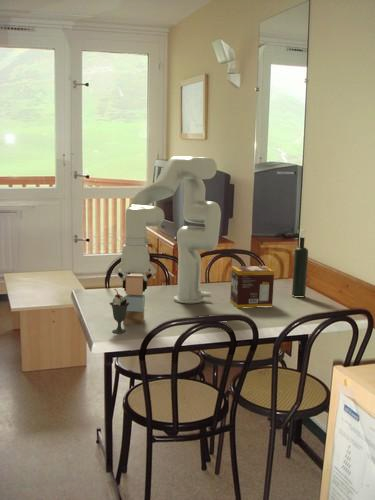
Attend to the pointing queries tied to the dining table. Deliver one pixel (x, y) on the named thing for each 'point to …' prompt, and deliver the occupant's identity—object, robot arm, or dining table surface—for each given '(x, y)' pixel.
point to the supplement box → (251, 286)
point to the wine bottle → (300, 268)
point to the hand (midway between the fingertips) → (134, 290)
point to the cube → (134, 284)
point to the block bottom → (134, 317)
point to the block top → (135, 302)
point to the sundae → (119, 311)
